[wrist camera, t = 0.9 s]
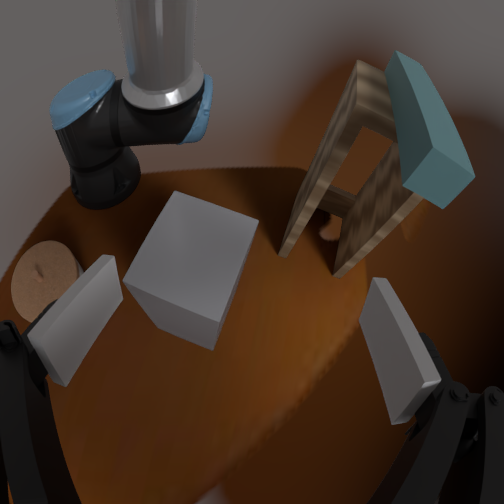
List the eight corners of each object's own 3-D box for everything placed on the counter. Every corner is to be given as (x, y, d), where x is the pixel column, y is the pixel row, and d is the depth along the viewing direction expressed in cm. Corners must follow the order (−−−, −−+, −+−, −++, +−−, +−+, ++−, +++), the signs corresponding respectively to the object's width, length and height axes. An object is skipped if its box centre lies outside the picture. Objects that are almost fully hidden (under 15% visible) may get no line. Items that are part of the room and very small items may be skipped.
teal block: (443, 209, 17) (475, 176, 13) (402, 185, 17) (433, 147, 13) (409, 85, 28) (420, 64, 25) (384, 71, 28) (395, 49, 25)
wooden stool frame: (339, 278, 48) (457, 160, 21) (277, 255, 48) (356, 103, 21) (349, 215, 55) (432, 99, 28) (297, 194, 56) (357, 59, 28)
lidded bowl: (68, 351, 35) (32, 339, 25) (27, 303, 36) (-7, 279, 26) (112, 294, 40) (88, 266, 31) (68, 252, 42) (42, 218, 32)
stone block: (213, 350, 39) (219, 322, 22) (158, 327, 39) (122, 281, 22) (236, 289, 44) (259, 220, 27) (184, 269, 44) (174, 190, 27)
